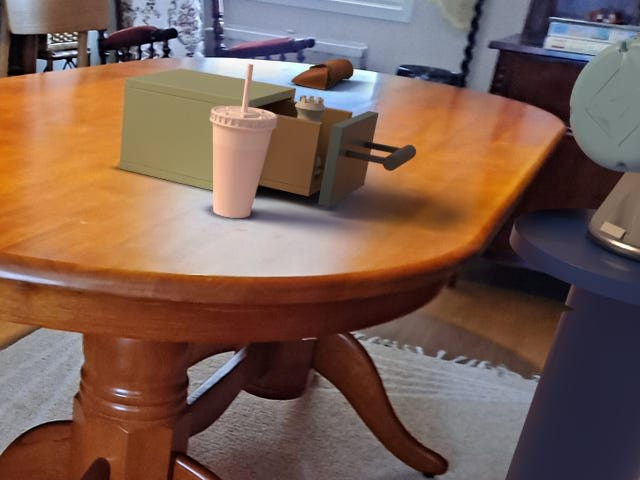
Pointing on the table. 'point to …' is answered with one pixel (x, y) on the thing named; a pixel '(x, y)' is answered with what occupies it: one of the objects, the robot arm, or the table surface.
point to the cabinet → (181, 121)
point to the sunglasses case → (325, 74)
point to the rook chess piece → (311, 115)
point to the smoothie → (239, 153)
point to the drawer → (324, 152)
